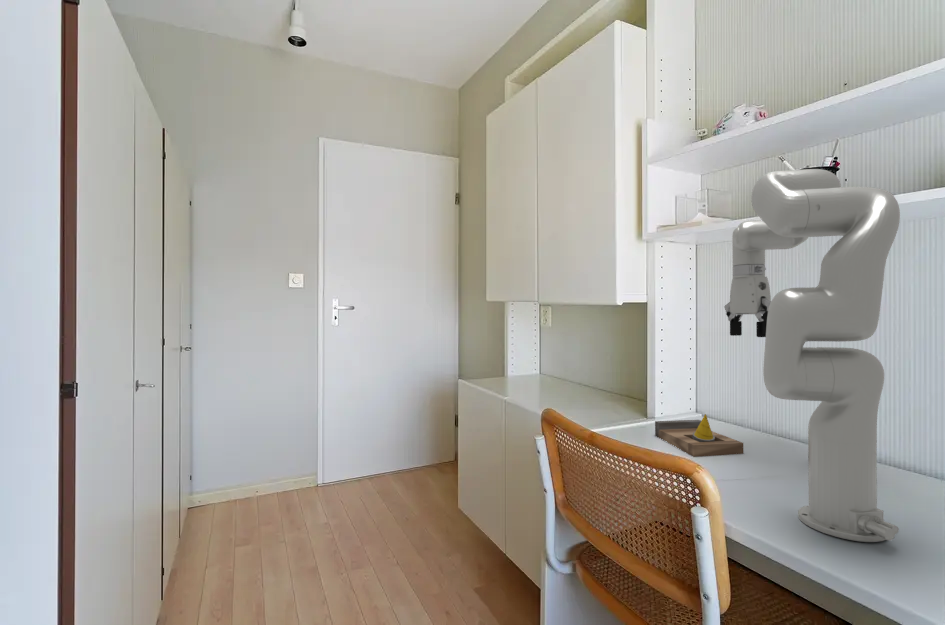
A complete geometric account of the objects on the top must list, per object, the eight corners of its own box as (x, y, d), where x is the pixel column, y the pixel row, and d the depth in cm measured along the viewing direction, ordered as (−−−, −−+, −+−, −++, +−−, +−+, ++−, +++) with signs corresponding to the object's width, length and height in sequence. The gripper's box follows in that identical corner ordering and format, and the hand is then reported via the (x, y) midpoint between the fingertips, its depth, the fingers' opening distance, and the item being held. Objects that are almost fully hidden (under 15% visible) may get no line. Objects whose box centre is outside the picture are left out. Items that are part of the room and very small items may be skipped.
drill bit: (708, 444, 127) (711, 410, 125) (717, 453, 122) (720, 418, 119) (688, 443, 127) (691, 409, 125) (696, 453, 122) (699, 418, 120)
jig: (743, 454, 119) (743, 435, 119) (693, 457, 117) (693, 437, 117) (698, 436, 137) (698, 419, 137) (655, 438, 135) (655, 421, 135)
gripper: (787, 269, 116) (787, 337, 116) (737, 275, 133) (738, 334, 133) (760, 269, 115) (761, 337, 115) (714, 275, 132) (714, 335, 132)
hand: (748, 336), depth 124 cm, fingers open, 9 cm apart
